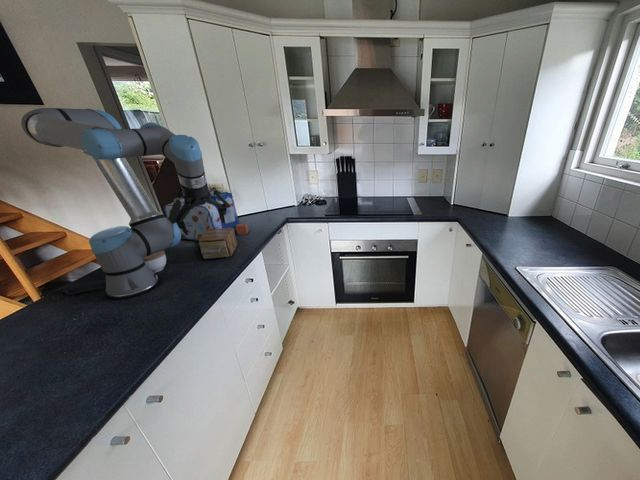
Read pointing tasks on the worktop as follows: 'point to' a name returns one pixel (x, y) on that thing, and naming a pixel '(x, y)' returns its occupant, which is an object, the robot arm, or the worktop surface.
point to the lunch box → (198, 220)
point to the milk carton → (228, 210)
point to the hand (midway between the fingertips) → (204, 226)
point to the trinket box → (156, 261)
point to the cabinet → (221, 237)
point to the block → (242, 229)
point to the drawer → (214, 249)
